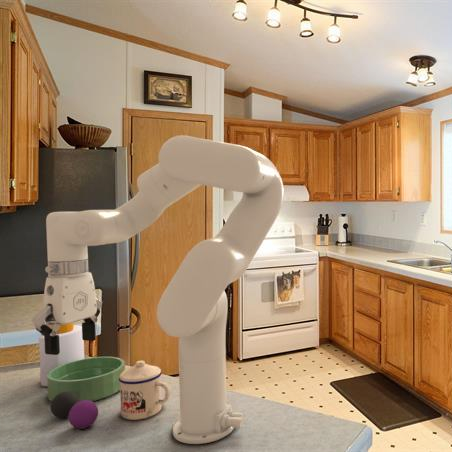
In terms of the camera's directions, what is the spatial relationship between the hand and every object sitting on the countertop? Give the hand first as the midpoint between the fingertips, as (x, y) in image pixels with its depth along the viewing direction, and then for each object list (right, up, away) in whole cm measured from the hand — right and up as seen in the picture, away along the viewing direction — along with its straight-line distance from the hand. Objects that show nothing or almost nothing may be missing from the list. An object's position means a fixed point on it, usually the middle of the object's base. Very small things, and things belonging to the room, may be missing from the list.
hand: (71, 346), depth 94 cm
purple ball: (+3, -17, -1) cm, 17 cm away
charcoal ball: (-4, -17, +4) cm, 18 cm away
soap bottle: (-18, -17, +27) cm, 37 cm away
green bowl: (-6, -16, +18) cm, 25 cm away
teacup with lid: (+14, -17, +5) cm, 23 cm away
